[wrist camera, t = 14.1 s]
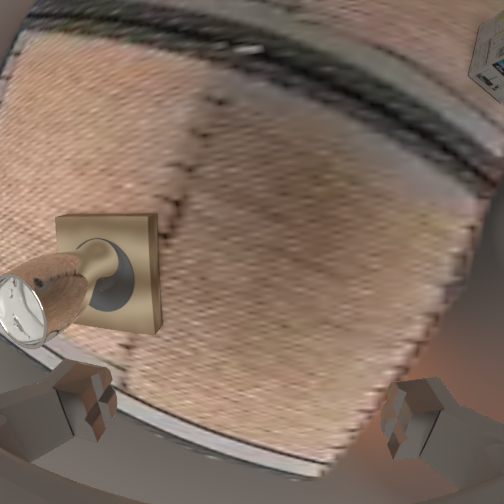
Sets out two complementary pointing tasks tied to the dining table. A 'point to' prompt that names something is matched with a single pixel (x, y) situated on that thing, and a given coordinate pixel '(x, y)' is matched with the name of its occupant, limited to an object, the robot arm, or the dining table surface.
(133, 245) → the brass stand
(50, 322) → the beer glass
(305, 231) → the dining table surface
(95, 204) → the dining table surface
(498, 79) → the light bulb box
